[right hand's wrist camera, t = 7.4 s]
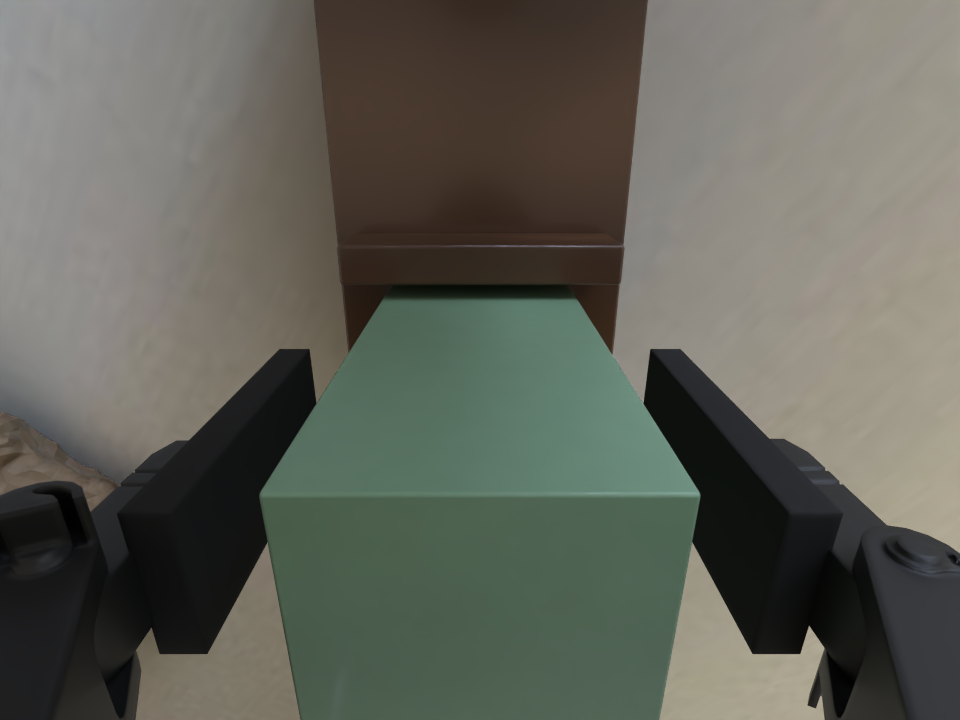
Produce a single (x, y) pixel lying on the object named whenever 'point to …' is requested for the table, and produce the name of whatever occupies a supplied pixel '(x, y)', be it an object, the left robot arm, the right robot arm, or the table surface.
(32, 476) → the stone
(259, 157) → the table surface
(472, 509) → the block
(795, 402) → the table surface
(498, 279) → the slotted wooden block
